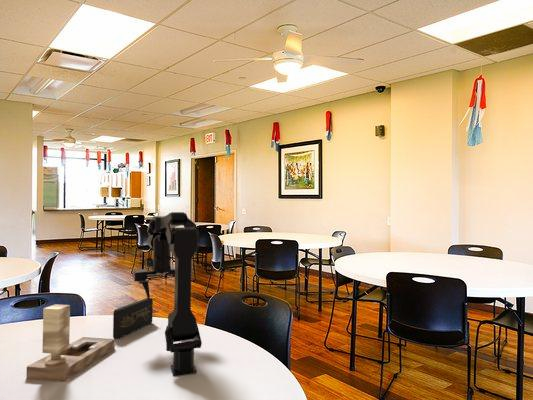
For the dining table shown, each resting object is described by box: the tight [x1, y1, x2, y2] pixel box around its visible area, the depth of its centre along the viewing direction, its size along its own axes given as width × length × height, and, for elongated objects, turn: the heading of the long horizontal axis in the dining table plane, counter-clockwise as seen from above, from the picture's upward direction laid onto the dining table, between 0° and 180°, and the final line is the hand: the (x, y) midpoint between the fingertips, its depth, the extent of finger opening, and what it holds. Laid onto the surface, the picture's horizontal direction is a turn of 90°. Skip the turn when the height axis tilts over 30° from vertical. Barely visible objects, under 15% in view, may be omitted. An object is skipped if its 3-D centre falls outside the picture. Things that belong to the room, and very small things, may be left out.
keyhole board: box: [25, 336, 116, 383], centre depth 116 cm, size 24×11×3 cm, turn 171°
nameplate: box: [112, 297, 154, 340], centre depth 147 cm, size 21×2×10 cm, turn 163°
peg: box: [41, 303, 71, 366], centre depth 108 cm, size 5×5×15 cm
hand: (162, 297), depth 137 cm, fingers open, 9 cm apart
